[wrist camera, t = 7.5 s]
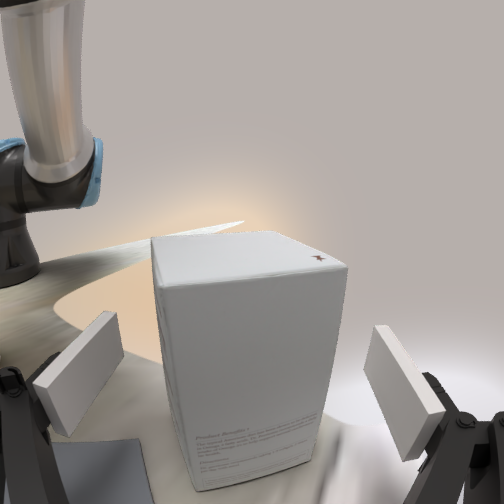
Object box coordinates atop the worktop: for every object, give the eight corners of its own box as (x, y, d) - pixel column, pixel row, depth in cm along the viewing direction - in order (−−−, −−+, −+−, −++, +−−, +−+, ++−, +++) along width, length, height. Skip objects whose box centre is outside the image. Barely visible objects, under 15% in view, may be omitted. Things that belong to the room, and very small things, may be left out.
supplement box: (265, 394, 21) (276, 228, 18) (312, 462, 15) (356, 263, 11) (168, 411, 19) (148, 233, 16) (191, 495, 12) (157, 281, 9)
